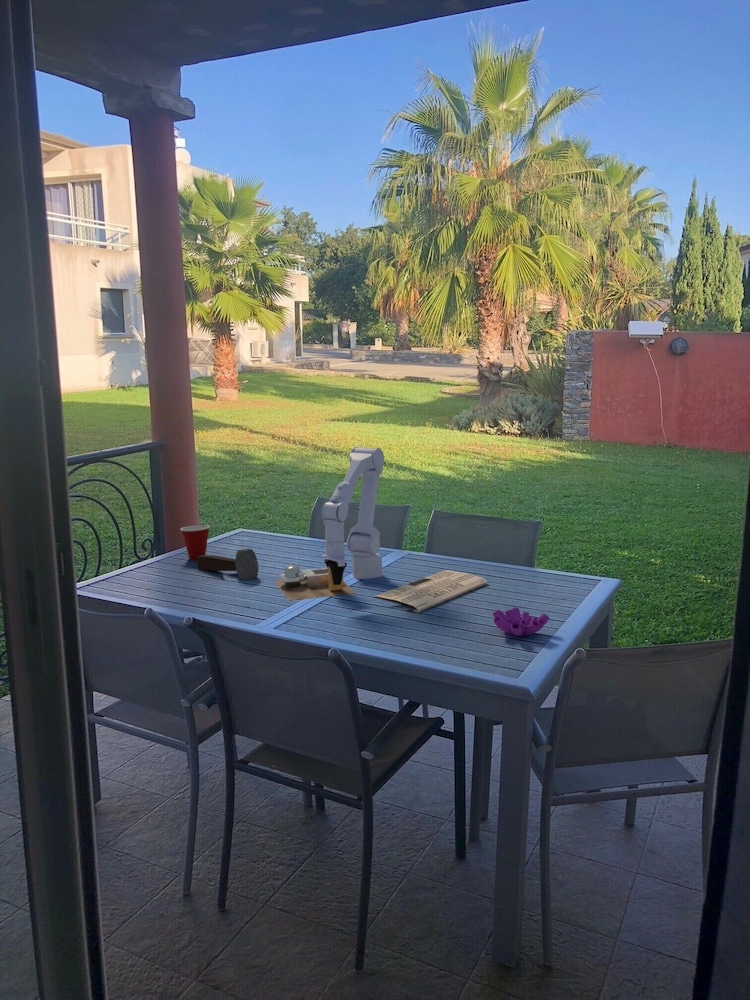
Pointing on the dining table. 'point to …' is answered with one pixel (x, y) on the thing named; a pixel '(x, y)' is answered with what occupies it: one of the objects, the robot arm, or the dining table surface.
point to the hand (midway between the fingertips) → (335, 583)
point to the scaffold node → (304, 576)
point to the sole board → (311, 591)
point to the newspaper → (434, 589)
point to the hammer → (232, 564)
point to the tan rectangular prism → (331, 584)
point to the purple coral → (519, 622)
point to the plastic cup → (196, 540)
